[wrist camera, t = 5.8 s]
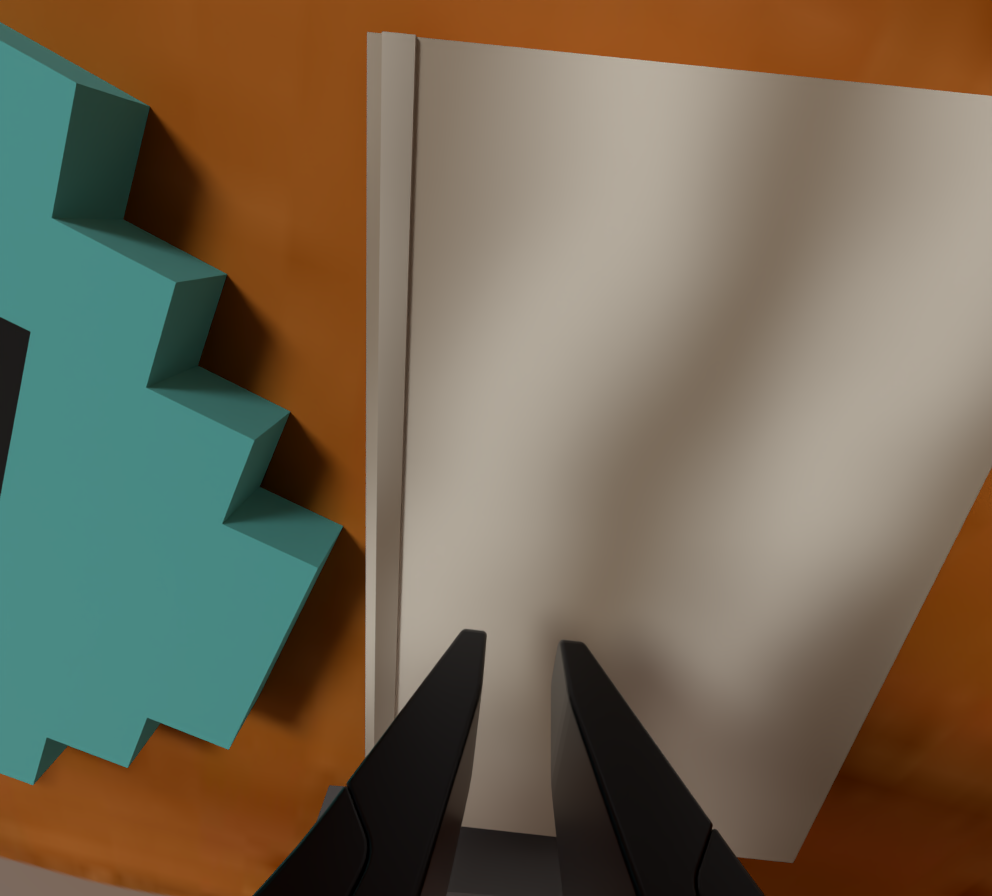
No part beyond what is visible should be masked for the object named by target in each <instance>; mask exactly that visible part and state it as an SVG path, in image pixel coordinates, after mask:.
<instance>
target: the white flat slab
mask: <svg viewBox="0 0 992 896" xmlns="http://www.w3.org/2000/svg"><path fill="white" fill-rule="evenodd" d="M991 467H992V96H986V95H976V94H966V93H956V92H947V91H937V90H927V89H917V88H908V87H898V86H888V85H878V84H869V83H859V82H849V81H839V80H830V79H820V78H810V77H800V76H791V75H781V74H771V73H761V72H752V71H742V70H732V69H722V68H713V67H703V66H693V65H683V64H674V63H664V62H654V61H644V60H635V59H625V58H615V57H605V56H596V55H586V54H576V53H566V52H557V51H547V50H537V49H527V48H518V47H508V46H498V45H488V44H479V43H469V42H459V41H449V40H440V39H430V38H420V37H416V35H411V34H402V33H392V32H382V34H381V33H371V32H367V277H366V699H365V758H366V756H367V755H368V754H369V752H370V751H371V750H372V749H373V747H374V746H375V745H376V743H377V742H378V741H379V739H380V738H381V737H382V735H383V734H384V733H385V731H386V730H387V729H388V727H389V726H390V725H391V723H392V722H393V721H394V719H395V718H396V717H397V715H398V714H399V713H400V711H401V710H402V709H403V707H404V706H405V705H406V703H407V702H408V701H409V699H410V698H411V697H412V695H413V694H414V693H415V691H416V690H417V689H418V687H419V686H420V685H421V683H422V682H423V681H424V679H425V678H426V677H427V675H428V674H429V673H430V671H431V670H432V669H433V667H434V666H435V665H436V663H437V662H438V661H439V659H440V658H441V657H442V655H443V654H444V653H445V651H446V650H447V649H448V647H449V646H450V645H451V643H452V642H453V641H454V639H455V638H456V637H457V635H458V634H459V633H460V632H461V631H462V630H463V629H474V630H483V631H485V632H486V634H487V640H486V652H485V664H484V676H483V685H482V694H481V703H480V711H479V720H478V728H477V737H476V745H475V754H474V762H473V770H472V777H471V782H470V788H469V793H468V798H467V802H466V807H465V812H464V816H463V821H462V825H461V826H463V827H472V828H481V829H490V830H499V831H508V832H517V833H526V834H535V835H544V836H553V837H556V829H555V820H554V811H553V802H552V789H551V680H552V674H553V668H554V663H555V657H556V652H557V646H558V643H559V641H560V640H563V639H564V640H573V641H581V642H583V643H585V644H586V646H587V647H588V648H589V650H590V651H591V653H592V654H593V655H594V657H595V658H596V660H597V661H598V663H599V664H600V665H601V667H602V668H603V670H604V671H605V672H606V674H607V675H608V677H609V678H610V679H611V681H612V682H613V684H614V685H615V687H616V688H617V689H618V691H619V692H620V694H621V695H622V696H623V698H624V699H625V701H626V702H627V703H628V705H629V706H630V708H631V709H632V711H633V712H634V713H635V715H636V716H637V718H638V719H639V720H640V722H641V723H642V725H643V726H644V727H645V729H646V730H647V732H648V733H649V735H650V736H651V737H652V739H653V740H654V742H655V743H656V744H657V746H658V747H659V749H660V750H661V751H662V753H663V754H664V756H665V757H666V759H667V760H668V761H669V763H670V764H671V766H672V767H673V768H674V770H675V771H676V773H677V774H678V775H679V777H680V778H681V780H682V781H683V783H684V784H685V785H686V787H687V788H688V790H689V791H690V792H691V794H692V795H693V797H694V798H695V799H696V801H697V802H698V804H699V805H700V807H701V808H702V809H703V811H704V812H705V814H706V815H707V816H708V818H709V819H710V821H711V822H712V824H713V827H712V829H717V830H718V832H719V833H720V834H721V836H722V837H723V839H724V840H725V841H726V843H727V844H728V846H729V847H730V849H731V850H732V851H733V853H734V854H735V856H736V857H742V858H751V859H760V860H769V861H778V862H787V863H793V862H794V860H795V858H796V856H797V854H798V852H799V850H800V848H801V846H802V844H803V842H804V840H805V838H806V836H807V834H808V832H809V830H810V828H811V826H812V824H813V822H814V820H815V818H816V816H817V814H818V812H819V810H820V808H821V806H822V804H823V802H824V800H825V798H826V796H827V794H828V792H829V790H830V788H831V786H832V784H833V782H834V780H835V778H836V776H837V774H838V772H839V770H840V768H841V766H842V764H843V762H844V760H845V758H846V756H847V754H848V752H849V750H850V748H851V746H852V744H853V742H854V740H855V738H856V736H857V734H858V732H859V730H860V728H861V726H862V724H863V722H864V720H865V718H866V717H867V715H868V713H869V711H870V709H871V707H872V705H873V703H874V701H875V699H876V697H877V695H878V693H879V691H880V689H881V687H882V685H883V683H884V681H885V679H886V677H887V675H888V673H889V671H890V669H891V667H892V665H893V663H894V661H895V659H896V657H897V655H898V653H899V651H900V649H901V647H902V645H903V643H904V641H905V639H906V637H907V635H908V633H909V631H910V629H911V627H912V625H913V623H914V621H915V619H916V617H917V615H918V613H919V611H920V609H921V607H922V605H923V603H924V601H925V599H926V597H927V595H928V593H929V591H930V589H931V587H932V585H933V583H934V581H935V579H936V577H937V575H938V573H939V571H940V569H941V567H942V565H943V563H944V561H945V559H946V557H947V555H948V553H949V551H950V549H951V547H952V545H953V543H954V541H955V539H956V537H957V535H958V533H959V531H960V529H961V527H962V525H963V523H964V521H965V519H966V517H967V515H968V513H969V511H970V509H971V507H972V505H973V503H974V501H975V499H976V497H977V495H978V493H979V491H980V489H981V487H982V485H983V483H984V481H985V479H986V477H987V475H988V473H989V471H990V469H991Z"/></svg>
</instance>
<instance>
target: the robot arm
mask: <svg viewBox="0 0 992 896" xmlns="http://www.w3.org/2000/svg"><path fill="white" fill-rule="evenodd" d="M486 640H487V634H486V632H485V631H483V630H474V629H463V630H462V631H461V632H460V633H459V634H458V635H457V637H456V638H455V639H454V641H453V642H452V643H451V645H450V646H449V647H448V649H447V650H446V651H445V653H444V654H443V655H442V657H441V658H440V659H439V661H438V662H437V663H436V665H435V666H434V667H433V669H432V670H431V671H430V673H429V674H428V675H427V677H426V678H425V679H424V681H423V682H422V683H421V685H420V686H419V687H418V689H417V690H416V691H415V693H414V694H413V695H412V697H411V698H410V699H409V701H408V702H407V703H406V705H405V706H404V707H403V709H402V710H401V711H400V713H399V714H398V715H397V717H396V718H395V719H394V721H393V722H392V723H391V725H390V726H389V727H388V729H387V730H386V731H385V733H384V734H383V735H382V737H381V738H380V739H379V741H378V742H377V743H376V745H375V746H374V747H373V749H372V750H371V751H370V752H369V754H368V755H367V756H366V758H365V759H364V760H363V762H362V763H361V764H360V766H359V767H358V768H357V770H356V771H355V772H354V774H353V775H352V776H351V778H350V779H349V780H348V782H347V787H343V788H342V789H341V791H340V792H339V793H338V795H337V796H336V797H335V799H334V800H333V801H332V803H331V804H330V805H329V807H328V808H327V809H326V811H325V812H324V813H323V814H322V816H321V817H320V818H319V819H318V821H317V822H316V823H315V824H314V826H313V827H312V828H311V829H310V831H309V832H308V833H307V834H306V836H305V837H304V838H303V839H302V841H301V842H300V843H299V844H298V846H297V847H296V848H295V849H294V850H293V851H292V852H291V853H290V855H289V856H288V857H287V858H286V859H285V860H284V861H283V862H282V864H281V865H280V866H279V867H278V868H277V869H276V870H275V871H274V873H273V874H272V875H271V876H270V877H269V878H268V879H267V881H266V882H265V883H264V884H263V885H262V886H261V887H260V888H259V889H258V890H257V891H256V892H255V894H254V895H253V896H446V895H447V890H448V886H449V881H450V876H451V872H452V867H453V863H454V858H455V853H456V849H457V844H458V839H459V835H460V830H461V825H462V821H463V816H464V812H465V807H466V802H467V798H468V793H469V788H470V782H471V777H472V770H473V762H474V754H475V745H476V737H477V728H478V720H479V711H480V703H481V694H482V685H483V676H484V664H485V652H486ZM551 789H552V802H553V811H554V820H555V829H556V838H557V848H558V857H559V866H560V875H561V884H562V894H563V896H765V895H764V893H763V892H762V891H761V889H760V888H759V887H758V885H757V884H756V883H755V881H754V880H753V879H752V877H751V876H750V874H749V873H748V872H747V870H746V869H745V868H744V866H743V865H742V864H741V862H740V861H739V860H738V858H737V857H736V856H735V854H734V853H733V851H732V850H731V849H730V847H729V846H728V844H727V843H726V841H725V840H724V839H723V837H722V836H721V834H720V833H719V832H718V830H717V829H712V827H713V824H712V822H711V821H710V819H709V818H708V816H707V815H706V814H705V812H704V811H703V809H702V808H701V807H700V805H699V804H698V802H697V801H696V799H695V798H694V797H693V795H692V794H691V792H690V791H689V790H688V788H687V787H686V785H685V784H684V783H683V781H682V780H681V778H680V777H679V775H678V774H677V773H676V771H675V770H674V768H673V767H672V766H671V764H670V763H669V761H668V760H667V759H666V757H665V756H664V754H663V753H662V751H661V750H660V749H659V747H658V746H657V744H656V743H655V742H654V740H653V739H652V737H651V736H650V735H649V733H648V732H647V730H646V729H645V727H644V726H643V725H642V723H641V722H640V720H639V719H638V718H637V716H636V715H635V713H634V712H633V711H632V709H631V708H630V706H629V705H628V703H627V702H626V701H625V699H624V698H623V696H622V695H621V694H620V692H619V691H618V689H617V688H616V687H615V685H614V684H613V682H612V681H611V679H610V678H609V677H608V675H607V674H606V672H605V671H604V670H603V668H602V667H601V665H600V664H599V663H598V661H597V660H596V658H595V657H594V655H593V654H592V653H591V651H590V650H589V648H588V647H587V646H586V644H585V643H583V642H581V641H573V640H564V639H563V640H560V641H559V643H558V646H557V652H556V657H555V663H554V668H553V674H552V680H551Z"/></svg>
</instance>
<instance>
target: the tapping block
mask: <svg viewBox="0 0 992 896" xmlns="http://www.w3.org/2000/svg"><path fill="white" fill-rule="evenodd" d="M342 788H343V786H329V788H328V791H327V794H326V796H325V799H324V802H323V805H322V808H321V811H320V814H319V816H318V819H319V818H320V817H321V816H322V814H323V813H324V812H325V811H326V809H327V808H328V807H329V805H330V804H331V803H332V801H333V800H334V799H335V797H336V796H337V795H338V793H339V792H340V791H341V789H342ZM318 819H317V821H318ZM446 896H563V894H562V884H561V875H560V866H559V857H558V848H557V838H556V837H553V836H544V835H535V834H526V833H517V832H508V831H499V830H490V829H481V828H472V827H463V826H461V830H460V835H459V839H458V844H457V849H456V853H455V858H454V863H453V867H452V872H451V876H450V881H449V886H448V890H447V895H446Z"/></svg>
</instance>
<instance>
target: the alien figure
mask: <svg viewBox="0 0 992 896" xmlns="http://www.w3.org/2000/svg"><path fill="white" fill-rule="evenodd" d="M149 108H150V106H148V105H146V104H144V103H143V102H141V101H139V100H137V99H136V98H134V97H132V96H130V95H128V94H127V93H125V92H123V91H121V90H120V89H118V88H116V87H114V86H112V85H111V84H109V83H107V82H105V81H104V80H102V79H100V78H98V77H97V76H95V75H93V74H91V73H89V72H88V71H86V70H84V69H82V68H81V67H79V66H77V65H75V64H73V63H72V62H70V61H68V60H66V59H65V58H63V57H61V56H59V55H57V54H56V53H54V52H52V51H50V50H49V49H47V48H45V47H43V46H42V45H40V44H38V43H36V42H34V41H33V40H31V39H29V38H27V37H26V36H24V35H22V34H20V33H18V32H17V31H15V30H13V29H11V28H10V27H8V26H6V25H4V24H2V23H1V22H0V773H1V774H4V775H7V776H9V777H12V778H15V779H18V780H20V781H23V782H26V783H29V784H31V785H34V784H35V782H36V781H37V780H38V779H39V778H40V777H41V776H42V774H43V773H44V772H45V771H46V770H47V769H48V768H49V767H50V765H51V764H52V763H53V762H54V761H55V760H56V759H57V757H58V756H59V755H60V754H61V753H62V752H63V751H64V749H65V748H66V747H67V746H71V747H73V748H76V749H79V750H81V751H84V752H87V753H89V754H92V755H95V756H97V757H100V758H103V759H105V760H108V761H111V762H113V763H116V764H118V765H121V766H124V767H126V768H128V767H129V766H130V764H131V763H132V761H133V760H134V759H135V757H136V756H137V755H138V753H139V752H140V750H141V749H142V748H143V746H144V745H145V744H146V742H147V741H148V740H149V738H150V737H151V735H152V734H153V733H154V731H155V730H156V729H157V727H158V726H159V725H160V723H162V724H165V725H167V726H170V727H172V728H175V729H177V730H180V731H183V732H185V733H188V734H190V735H193V736H195V737H198V738H200V739H203V740H205V741H208V742H210V743H213V744H216V745H218V746H221V747H223V748H226V749H228V750H229V748H230V746H231V745H232V743H233V741H234V739H235V738H236V736H237V734H238V732H239V730H240V729H241V727H242V725H243V723H244V722H245V720H246V718H247V716H248V715H249V713H250V711H251V709H252V707H253V706H254V704H255V702H256V700H257V699H258V697H259V695H260V693H261V691H262V689H263V687H264V685H265V683H266V681H267V679H268V677H269V675H270V673H271V671H272V669H273V667H274V665H275V663H276V661H277V659H278V657H279V655H280V653H281V651H282V649H283V647H284V645H285V643H286V641H287V639H288V636H289V634H290V632H291V630H292V628H293V626H294V624H295V622H296V620H297V618H298V616H299V614H300V612H301V610H302V608H303V606H304V604H305V602H306V600H307V598H308V596H309V594H310V592H311V590H312V588H313V586H314V584H315V582H316V580H317V578H318V576H319V574H320V572H321V570H322V568H323V566H324V564H325V562H326V560H327V558H328V556H329V554H330V552H331V550H332V548H333V546H334V544H335V542H336V540H337V538H338V536H339V534H340V532H341V530H342V528H343V526H342V525H339V524H337V523H335V522H333V521H331V520H329V519H327V518H325V517H323V516H320V515H318V514H316V513H314V512H312V511H310V510H308V509H306V508H304V507H301V506H299V505H297V504H295V503H293V502H291V501H289V500H287V499H285V498H282V497H280V496H278V495H276V494H274V493H272V492H270V491H268V490H266V489H263V488H261V487H260V485H261V483H262V480H263V478H264V475H265V473H266V470H267V468H268V466H269V463H270V461H271V458H272V456H273V453H274V451H275V448H276V446H277V443H278V441H279V439H280V436H281V434H282V431H283V429H284V426H285V424H286V421H287V419H288V416H289V414H290V411H288V410H286V409H284V408H282V407H280V406H278V405H276V404H274V403H272V402H270V401H268V400H266V399H264V398H262V397H260V396H258V395H256V394H254V393H252V392H250V391H248V390H246V389H244V388H242V387H240V386H238V385H236V384H234V383H232V382H230V381H228V380H226V379H224V378H222V377H220V376H218V375H216V374H214V373H212V372H210V371H208V370H206V369H204V368H202V367H200V366H198V364H199V361H200V358H201V354H202V351H203V348H204V345H205V342H206V339H207V336H208V333H209V329H210V326H211V323H212V320H213V317H214V314H215V311H216V308H217V304H218V301H219V298H220V295H221V292H222V289H223V286H224V283H225V279H226V276H227V274H226V273H224V272H222V271H220V270H218V269H216V268H214V267H212V266H210V265H209V264H207V263H205V262H203V261H201V260H199V259H197V258H195V257H193V256H192V255H190V254H188V253H186V252H184V251H182V250H180V249H178V248H176V247H175V246H173V245H171V244H169V243H167V242H165V241H163V240H161V239H159V238H158V237H156V236H154V235H152V234H150V233H148V232H146V231H144V230H142V229H140V228H139V227H137V226H135V225H133V224H131V223H129V222H127V221H125V220H123V219H124V215H125V210H126V206H127V202H128V198H129V193H130V189H131V185H132V181H133V176H134V172H135V168H136V164H137V159H138V155H139V151H140V147H141V142H142V138H143V134H144V130H145V125H146V121H147V117H148V113H149Z"/></svg>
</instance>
